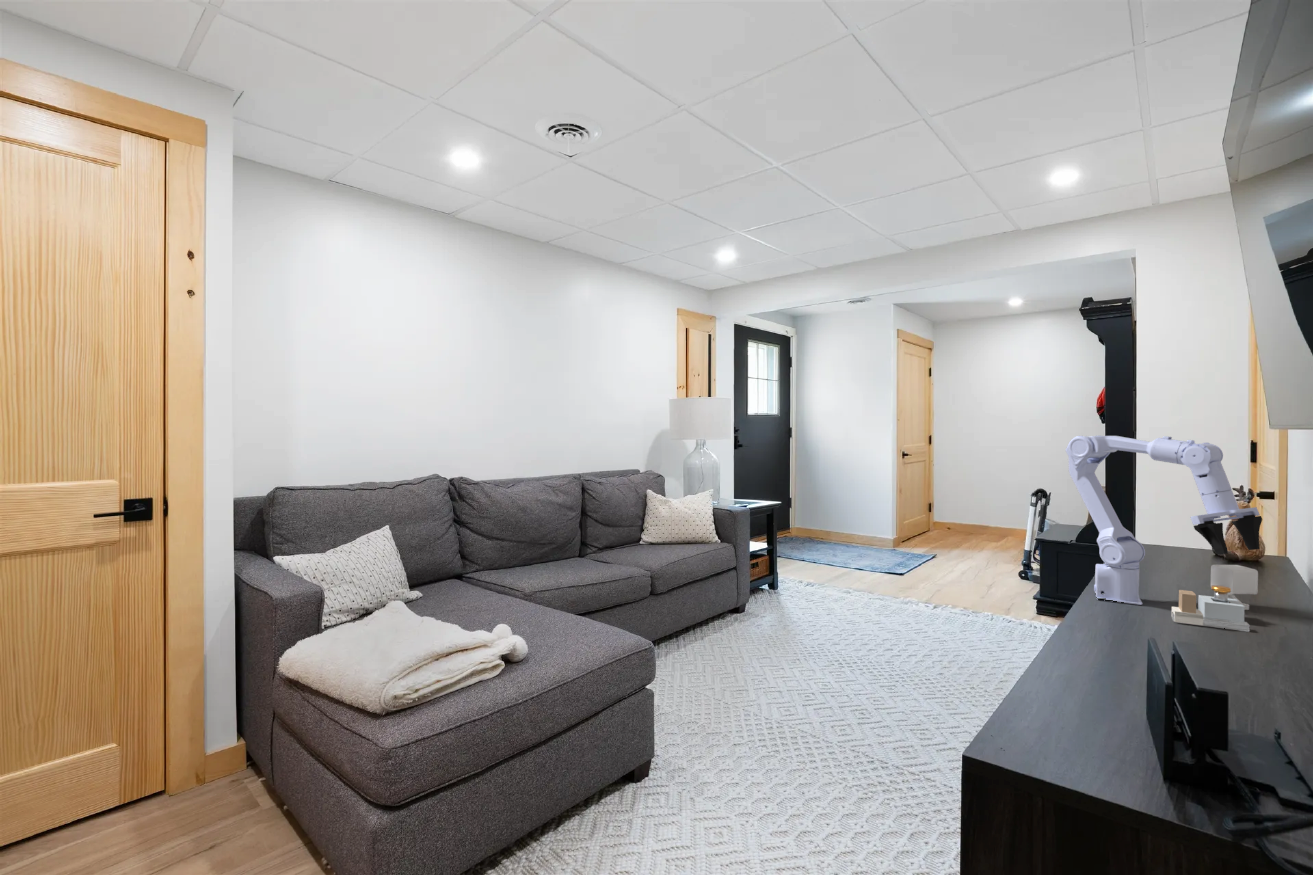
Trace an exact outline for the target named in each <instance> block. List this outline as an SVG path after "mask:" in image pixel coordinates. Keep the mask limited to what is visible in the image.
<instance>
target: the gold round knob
mask: <svg viewBox="0 0 1313 875" xmlns="http://www.w3.org/2000/svg"><path fill="white" fill-rule="evenodd" d="M1210 588H1211V590H1212V591H1213V597H1214V601H1215V602H1224V603H1228V593H1230V592H1231V588H1229V587H1225V586H1216V585H1213V586H1211V585H1210Z"/></svg>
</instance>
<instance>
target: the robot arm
mask: <svg viewBox="0 0 1313 875" xmlns="http://www.w3.org/2000/svg"><path fill="white" fill-rule="evenodd" d="M1172 438H1173V437H1172V436H1168V435H1165V436H1164V435H1163V436H1162V437H1156V438H1155V439H1153V440H1152V441H1150V440H1149V441H1147V440H1142V439H1136V438H1130V437H1124V436H1119V435H1090V436H1089V435H1088V436H1087V435H1085V436H1084V435H1077V436H1074V437H1073V438H1071V440H1070V441H1069V442H1068V444H1067V447H1066V448H1065V452H1066V455H1067V456H1068V473H1069V476H1070V478H1071V479H1072V482H1073V483H1074V485H1075V487H1076V489H1077V492H1078V493H1079V495H1080V498H1081V499H1082V501H1083V504H1084V505H1085V507H1086V509H1087V511H1088V513H1089V516H1091V519H1092V521H1093V523H1094V525H1095V527H1096V529H1097V531H1098V537H1097V538H1096V543H1097V545H1098V548H1099V557H1100V558H1101V560H1102V561H1103V563H1096V564H1095V571H1094V572H1095V573H1094V584H1093V591H1094V593H1096V595H1095V598H1096V597H1097V598H1106V600H1113V601H1117V602H1116V603H1121V602H1124V603H1123V604H1130V605H1140V606H1141V605H1142V606H1143V602H1142V600H1141V598H1140V591H1139V590H1140V562H1142V561H1143V560H1144V558H1145V556H1146V550H1145V547H1144V545H1143V544H1142V542H1140V541H1138V540H1137V539H1136V538H1135V536H1134V534H1133V533H1132V532H1131V530H1130V531H1129V530H1128V529H1126V527H1124V526H1123V524H1122V523H1121V520H1120V519H1119V517H1118V515H1117V513H1116V511H1115V509H1114V507H1113V506H1112V504H1111V502H1110V499H1109V498H1108V496H1107V494H1106V491H1105V490H1104V488H1103V487H1102V485H1101V483H1100V481H1099V479H1098V477H1097V475H1096V470H1097V469H1098V466H1099V465H1100V464H1101V463H1103V461H1104V460H1105V459H1106V458H1107V457H1109V455H1110V454H1111V453H1115V452H1117V451H1121V452H1122V451H1123V452H1130V453H1139V454H1145V455H1148V456H1149V457H1150V458H1151V459H1152V460H1153V461H1156V462H1157V461H1158V462H1162V463H1163V462H1164V463H1170V464H1176V465H1182V466H1186V467H1188V468H1189V469H1190V472H1191V474H1192V478H1193V480H1194V482H1195V485H1196V488H1197V490H1198V493H1199V496H1200V499H1201V501H1202V504H1203V506H1204V509H1205V512H1206V513H1205V514H1199V515H1192V516H1190V520H1191V524H1192V525H1193V529H1194V530H1195V531H1196V532H1198V533H1199V535H1201V536H1202V537H1203V538H1204V539H1205V540H1206V541H1207V542H1208V544H1209V545H1210V546H1211V548H1212V549H1213V551H1214V552H1215V553H1216V555H1217V556H1218V555H1227V554H1229V553H1228V552H1229V551H1228V546H1227V543H1226V541H1225V537H1224V530H1223V529H1224V526H1223V525H1224V523H1223V522H1222V521H1228V520H1232V521H1231V524H1233V526H1234V527H1235V528H1236V529H1237V531H1238V532H1239V534H1240V536H1241V538H1242V540H1243V542H1244V545H1245V547H1246V548H1247V549H1248V551H1253V550H1260V529H1261V526H1262V525H1261V524H1262V523H1263V518H1262V516H1261V515H1260V512H1259V510H1258V507H1257V506H1255V507H1247V508H1240V507H1239V505H1238V502H1237V500H1236V497H1235V494H1234V493H1233V492H1234V491H1233V488H1232V487H1231V484H1230V481H1229V480H1228V477H1227V474H1226V471H1225V469H1224V466H1223V463H1222V461H1223V458H1224V454H1223V450H1222V449H1221V448H1220V447H1219V446H1218V445H1216V444H1213V443H1210V442H1202V443H1196V441H1195V440H1193V439H1187V440H1186V441H1185V440H1178V439H1172ZM1224 516H1229V517H1224ZM1221 517H1222V518H1221ZM1216 522H1217V523H1216ZM1102 593H1104V594H1102ZM1097 598H1096V599H1097ZM1113 601H1112V602H1113Z"/></svg>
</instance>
